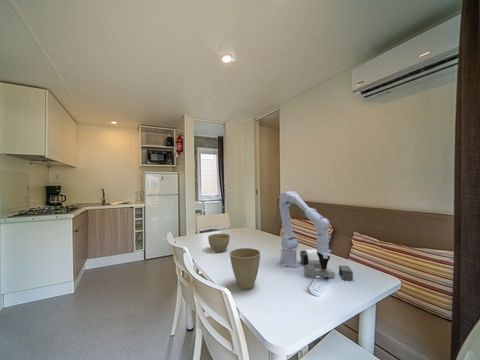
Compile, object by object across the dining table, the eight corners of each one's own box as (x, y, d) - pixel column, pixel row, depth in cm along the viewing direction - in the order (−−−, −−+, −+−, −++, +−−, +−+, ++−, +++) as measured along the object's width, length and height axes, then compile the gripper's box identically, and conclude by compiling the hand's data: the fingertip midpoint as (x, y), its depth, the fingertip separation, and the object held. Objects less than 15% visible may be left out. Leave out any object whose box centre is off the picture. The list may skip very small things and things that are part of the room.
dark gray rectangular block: (343, 280, 103) (342, 271, 103) (339, 273, 110) (338, 265, 110) (352, 280, 102) (352, 271, 102) (348, 274, 109) (348, 265, 109)
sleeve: (305, 277, 107) (305, 269, 107) (304, 271, 114) (303, 264, 114) (328, 278, 105) (327, 270, 105) (325, 273, 111) (325, 265, 112)
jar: (325, 263, 120) (305, 264, 120) (321, 265, 127) (302, 266, 127) (322, 247, 124) (302, 248, 124) (318, 250, 131) (299, 251, 131)
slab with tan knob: (308, 275, 108) (307, 262, 108) (307, 272, 112) (306, 260, 112) (334, 277, 105) (334, 264, 105) (332, 274, 109) (332, 261, 109)
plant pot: (262, 279, 106) (261, 248, 106) (260, 294, 91) (259, 258, 91) (233, 277, 108) (233, 247, 109) (227, 292, 94) (226, 257, 94)
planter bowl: (229, 254, 145) (229, 238, 146) (206, 254, 146) (206, 239, 146) (230, 247, 161) (230, 233, 162) (210, 247, 162) (209, 233, 162)
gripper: (334, 246, 101) (334, 274, 100) (327, 238, 115) (328, 262, 115) (318, 245, 102) (319, 273, 102) (314, 237, 116) (315, 262, 116)
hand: (323, 267), depth 108 cm, fingers closed on slab with tan knob, 3 cm apart
